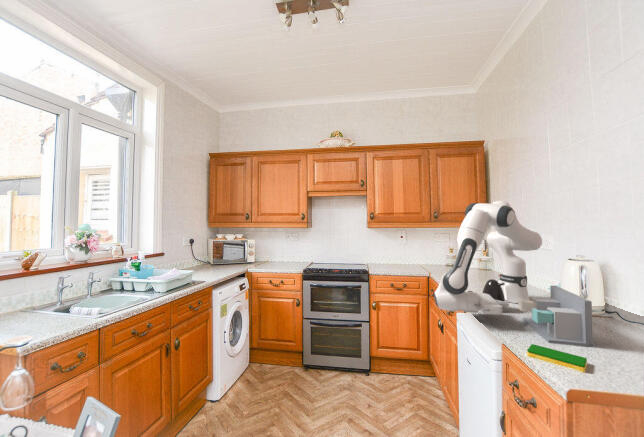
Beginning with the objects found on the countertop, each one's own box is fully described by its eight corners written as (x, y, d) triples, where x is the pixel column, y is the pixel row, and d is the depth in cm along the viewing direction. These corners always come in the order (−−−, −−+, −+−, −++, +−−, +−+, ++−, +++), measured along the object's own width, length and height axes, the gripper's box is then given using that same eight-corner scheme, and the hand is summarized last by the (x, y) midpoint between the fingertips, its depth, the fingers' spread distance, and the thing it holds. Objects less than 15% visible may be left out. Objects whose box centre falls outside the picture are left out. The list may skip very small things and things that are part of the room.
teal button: (537, 323, 103) (537, 311, 103) (532, 319, 107) (532, 308, 107) (563, 325, 101) (563, 313, 101) (557, 321, 105) (557, 309, 105)
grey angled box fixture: (548, 342, 100) (547, 299, 100) (522, 319, 123) (521, 284, 123) (596, 347, 96) (595, 301, 96) (559, 322, 118) (558, 285, 119)
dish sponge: (584, 374, 80) (584, 365, 80) (527, 357, 90) (526, 350, 90) (587, 365, 85) (586, 357, 85) (531, 350, 95) (531, 343, 95)
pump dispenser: (501, 314, 130) (500, 282, 130) (478, 309, 138) (477, 279, 139) (509, 310, 136) (508, 279, 136) (487, 305, 145) (486, 276, 145)
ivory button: (522, 311, 116) (522, 301, 117) (518, 308, 121) (518, 298, 121) (545, 313, 114) (545, 302, 114) (540, 309, 118) (540, 299, 118)
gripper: (478, 302, 114) (516, 304, 110) (467, 289, 134) (499, 291, 130) (478, 317, 114) (516, 319, 110) (468, 302, 134) (500, 304, 130)
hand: (507, 304), depth 120 cm, fingers closed
